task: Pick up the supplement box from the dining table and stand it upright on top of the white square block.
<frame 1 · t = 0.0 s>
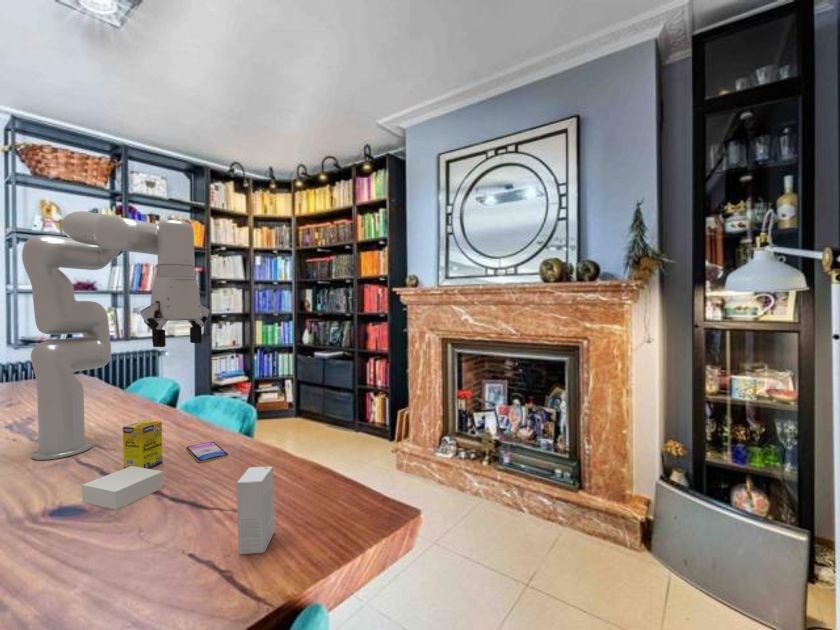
hand: (178, 344, 94), 31 cm above the table, tool pointing down, fingers open, 9 cm apart
smartphone: (206, 454, 108), on the table
supplement box: (143, 467, 99), on the table
white square block: (124, 496, 84), on the table
skincare box: (257, 544, 66), on the table
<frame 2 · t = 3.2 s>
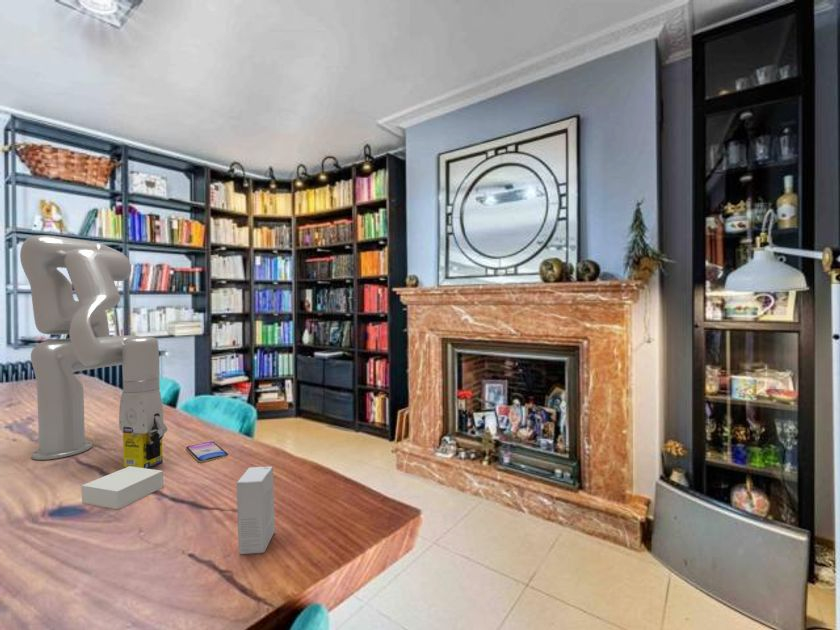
hand: (143, 455, 99), 3 cm above the table, tool pointing down, fingers closed on supplement box, 6 cm apart
supplement box: (143, 467, 99), on the table, touching gripper
everything else where it was.
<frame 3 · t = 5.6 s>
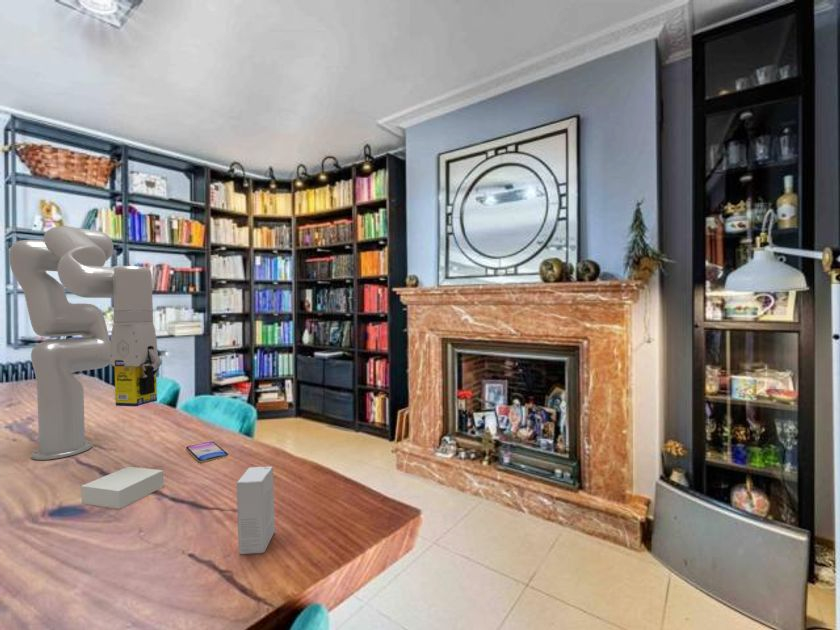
hand: (136, 392, 94), 20 cm above the table, tool pointing down, fingers closed on supplement box, 6 cm apart
supplement box: (137, 404, 94), point 17 cm above the table, touching gripper
everything else where it was.
when the fingers open (8 cm above the table, at t = 8.3 s): supplement box drops 2 cm, point 3 cm above the table.
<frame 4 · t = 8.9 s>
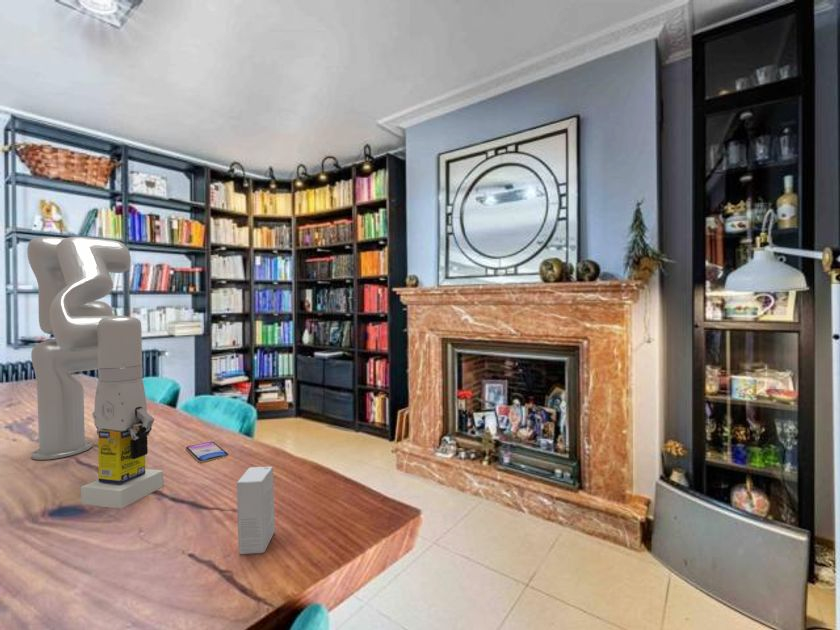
hand: (123, 453, 84), 9 cm above the table, tool pointing down, fingers open, 9 cm apart
supplement box: (122, 478, 84), point 3 cm above the table
everything else where it was.
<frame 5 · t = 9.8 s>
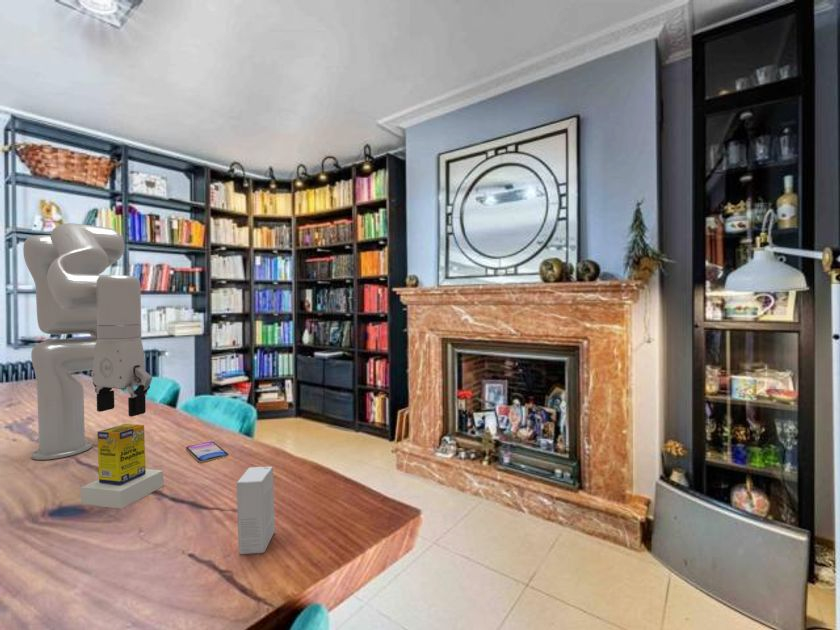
hand: (121, 412, 84), 18 cm above the table, tool pointing down, fingers open, 9 cm apart
supplement box: (123, 479, 84), point 3 cm above the table, touching white square block
white square block: (124, 496, 84), on the table, touching supplement box
everything else where it was.
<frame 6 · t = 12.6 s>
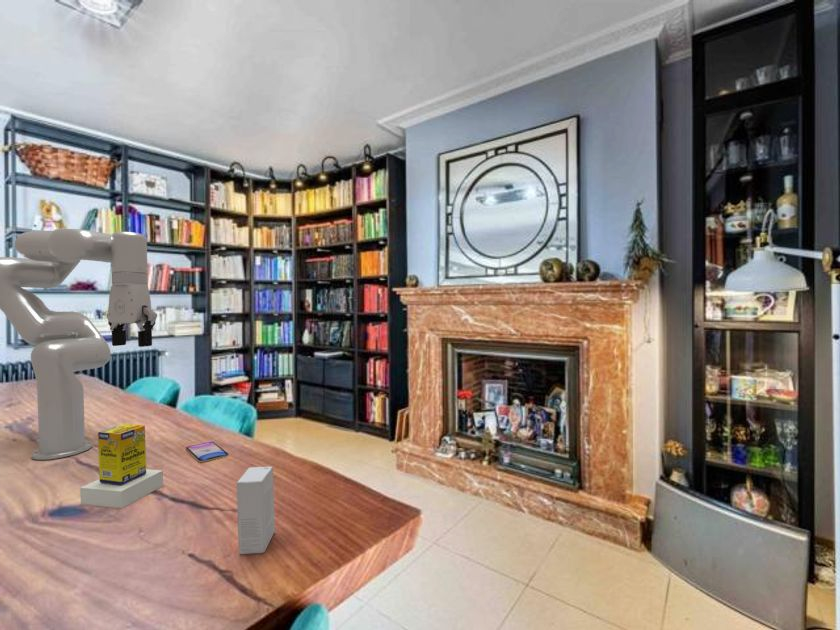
hand: (132, 345, 102), 30 cm above the table, tool pointing down, fingers open, 9 cm apart
supplement box: (123, 479, 84), point 3 cm above the table
white square block: (123, 497, 84), on the table
everything else where it was.
at the end: supplement box 0.3 cm off-centre on the white square block, point 3.8 cm above the white square block's base; supplement box tilted 1°; the gripper is holding nothing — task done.
